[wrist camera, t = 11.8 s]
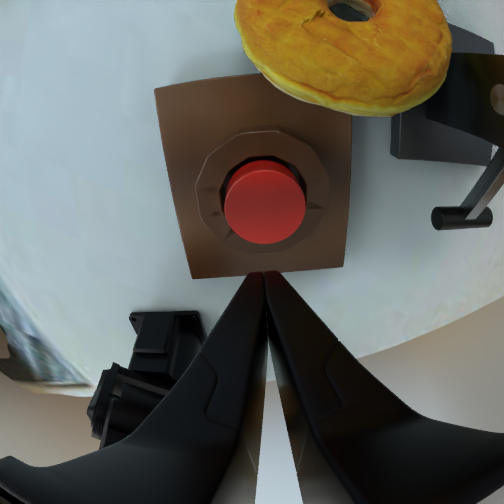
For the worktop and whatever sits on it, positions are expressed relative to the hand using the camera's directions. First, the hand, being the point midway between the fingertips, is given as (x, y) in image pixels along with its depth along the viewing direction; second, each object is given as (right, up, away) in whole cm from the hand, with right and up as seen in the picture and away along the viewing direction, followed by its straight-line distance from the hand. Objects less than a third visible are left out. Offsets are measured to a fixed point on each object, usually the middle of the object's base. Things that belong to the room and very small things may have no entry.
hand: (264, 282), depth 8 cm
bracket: (+13, +12, +5) cm, 18 cm away
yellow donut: (+4, +12, -2) cm, 12 cm away
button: (0, +4, +5) cm, 7 cm away
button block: (0, +6, +9) cm, 10 cm away
